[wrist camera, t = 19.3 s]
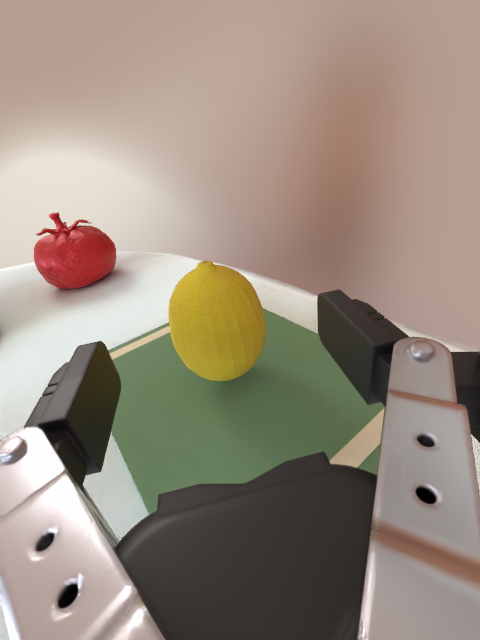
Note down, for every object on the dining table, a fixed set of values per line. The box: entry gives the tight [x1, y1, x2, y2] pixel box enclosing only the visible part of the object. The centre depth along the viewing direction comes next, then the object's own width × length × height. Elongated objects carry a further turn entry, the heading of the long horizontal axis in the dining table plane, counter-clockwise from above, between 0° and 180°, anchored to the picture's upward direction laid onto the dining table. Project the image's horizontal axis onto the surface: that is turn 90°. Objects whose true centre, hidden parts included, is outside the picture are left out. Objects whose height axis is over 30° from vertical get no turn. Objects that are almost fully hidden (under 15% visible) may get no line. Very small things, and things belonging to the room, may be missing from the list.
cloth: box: [108, 308, 385, 514], centre depth 20 cm, size 15×20×1 cm
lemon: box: [169, 261, 265, 381], centre depth 18 cm, size 6×6×8 cm
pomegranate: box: [34, 213, 116, 289], centre depth 40 cm, size 10×10×9 cm
